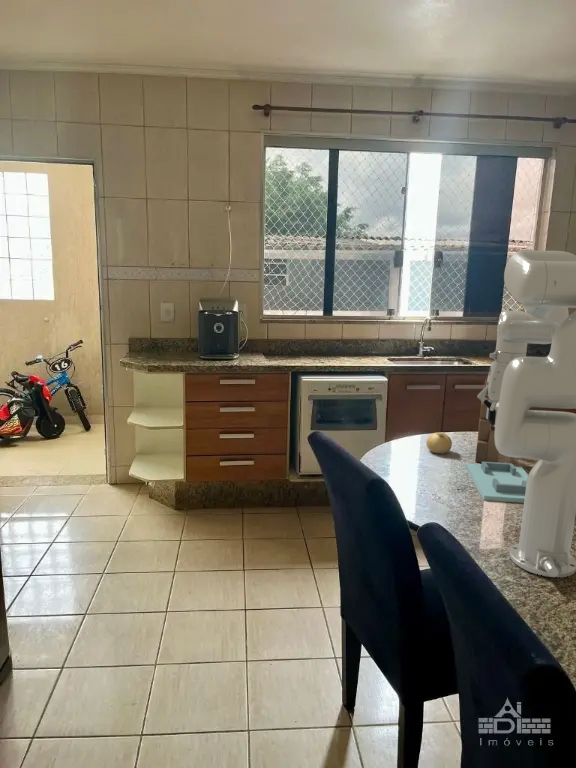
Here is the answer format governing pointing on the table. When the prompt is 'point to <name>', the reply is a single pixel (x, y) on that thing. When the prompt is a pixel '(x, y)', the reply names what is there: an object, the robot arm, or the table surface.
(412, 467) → the table surface
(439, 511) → the table surface
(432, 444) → the onion
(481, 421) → the wooden toy
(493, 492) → the cradle
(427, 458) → the table surface
